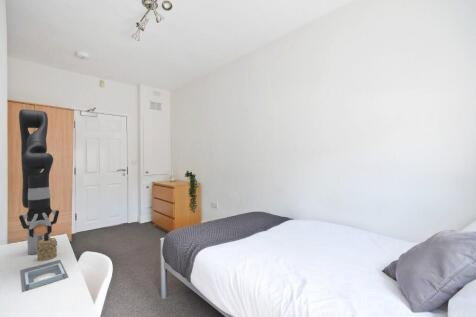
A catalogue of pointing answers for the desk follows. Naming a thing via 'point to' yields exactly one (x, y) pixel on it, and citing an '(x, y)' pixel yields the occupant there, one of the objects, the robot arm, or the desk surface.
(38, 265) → the mat
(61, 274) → the square tray
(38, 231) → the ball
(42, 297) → the desk surface
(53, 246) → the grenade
